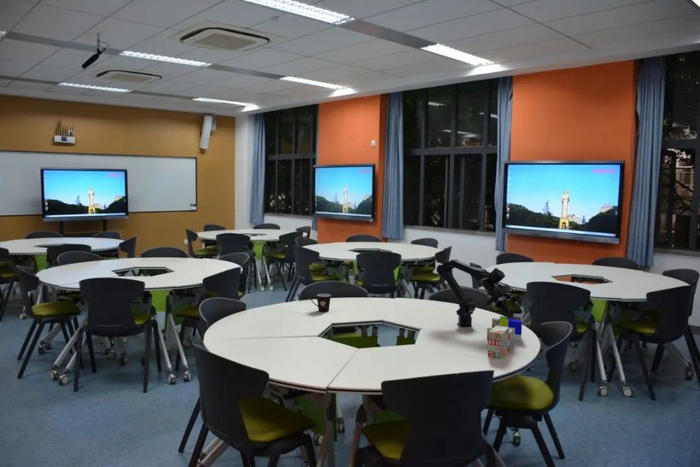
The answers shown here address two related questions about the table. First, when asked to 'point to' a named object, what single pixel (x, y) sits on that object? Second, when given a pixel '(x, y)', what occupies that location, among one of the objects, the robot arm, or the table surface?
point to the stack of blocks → (500, 341)
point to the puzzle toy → (512, 326)
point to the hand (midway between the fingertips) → (509, 312)
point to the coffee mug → (323, 302)
